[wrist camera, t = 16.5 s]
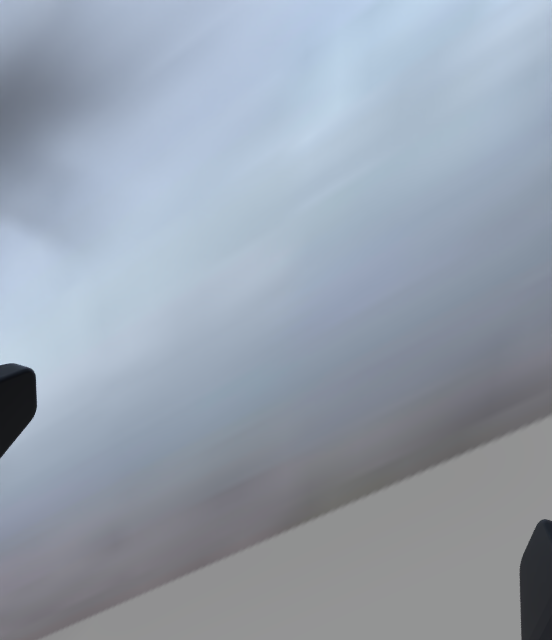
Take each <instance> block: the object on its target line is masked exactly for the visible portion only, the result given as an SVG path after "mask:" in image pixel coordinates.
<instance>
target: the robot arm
mask: <svg viewBox="0 0 552 640" xmlns="http://www.w3.org/2000/svg"><path fill="white" fill-rule="evenodd" d="M36 408H37V395H36V375H35V373H34V371H33V370H32V369H31V368H28V367H25V366H22V365H18V364H14V363H10V364H4V365H0V458H1V457H2V456H3V454H4V453H5V452H6V451H7V449H8V448H9V447H10V446H11V445H12V443H13V442H14V441H15V440H16V438H17V437H18V436H19V435H20V434H21V432H22V431H23V430H24V429H25V427H26V426H27V425H28V424H29V422H30V421H31V420H32V418H33V417H34V415H35V412H36ZM520 602H521V636H522V640H552V521H550V520H546V519H544V520H541V521H540V522H539V523H538V524H537V526H536V528H535V530H534V532H533V534H532V537H531V539H530V541H529V543H528V545H527V548H526V550H525V552H524V554H523V557H522V560H521V564H520Z"/></svg>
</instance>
